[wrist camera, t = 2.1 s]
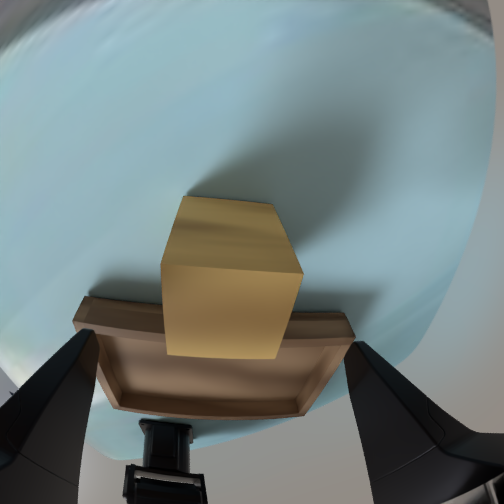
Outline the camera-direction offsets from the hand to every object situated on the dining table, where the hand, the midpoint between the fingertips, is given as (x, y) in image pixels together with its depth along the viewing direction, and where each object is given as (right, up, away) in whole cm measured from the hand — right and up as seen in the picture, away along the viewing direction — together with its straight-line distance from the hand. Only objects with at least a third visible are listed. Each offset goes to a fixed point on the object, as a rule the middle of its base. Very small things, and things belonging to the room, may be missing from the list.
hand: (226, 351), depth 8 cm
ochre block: (-1, +4, +6) cm, 7 cm away
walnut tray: (-2, -6, +12) cm, 13 cm away
